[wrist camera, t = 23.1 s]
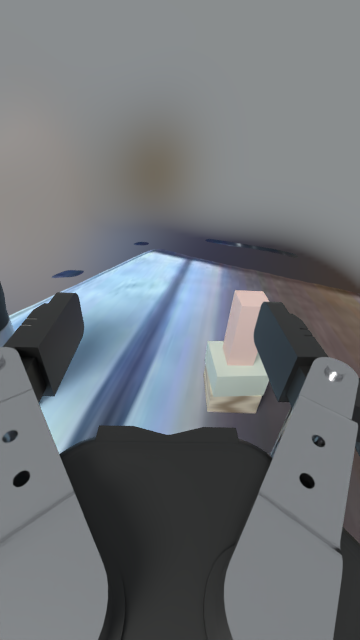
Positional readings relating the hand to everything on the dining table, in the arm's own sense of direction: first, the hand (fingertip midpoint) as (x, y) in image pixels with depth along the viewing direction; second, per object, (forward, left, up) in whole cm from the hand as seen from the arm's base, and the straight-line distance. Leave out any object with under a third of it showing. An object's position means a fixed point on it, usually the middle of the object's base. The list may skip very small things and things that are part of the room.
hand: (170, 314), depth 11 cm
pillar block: (-12, +24, -24) cm, 36 cm away
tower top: (-12, +24, -29) cm, 40 cm away
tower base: (-12, +24, -34) cm, 44 cm away
